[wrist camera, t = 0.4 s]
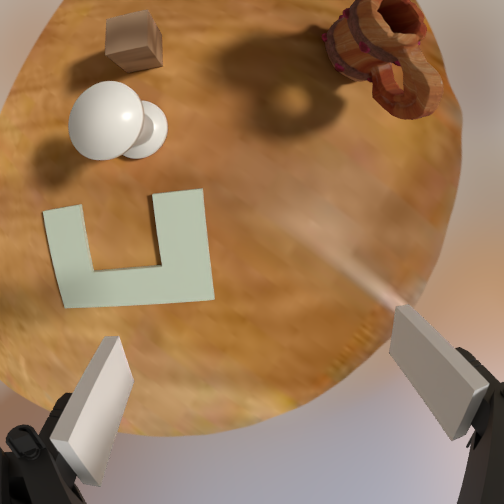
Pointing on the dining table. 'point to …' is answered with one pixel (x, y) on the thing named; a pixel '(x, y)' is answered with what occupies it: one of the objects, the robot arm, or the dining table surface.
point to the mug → (386, 55)
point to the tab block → (134, 41)
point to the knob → (116, 123)
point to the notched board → (135, 278)
